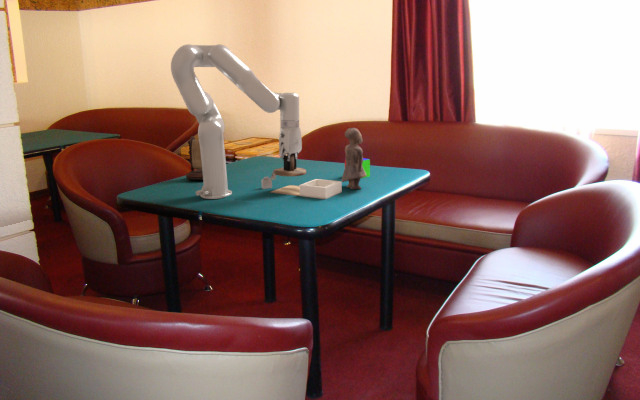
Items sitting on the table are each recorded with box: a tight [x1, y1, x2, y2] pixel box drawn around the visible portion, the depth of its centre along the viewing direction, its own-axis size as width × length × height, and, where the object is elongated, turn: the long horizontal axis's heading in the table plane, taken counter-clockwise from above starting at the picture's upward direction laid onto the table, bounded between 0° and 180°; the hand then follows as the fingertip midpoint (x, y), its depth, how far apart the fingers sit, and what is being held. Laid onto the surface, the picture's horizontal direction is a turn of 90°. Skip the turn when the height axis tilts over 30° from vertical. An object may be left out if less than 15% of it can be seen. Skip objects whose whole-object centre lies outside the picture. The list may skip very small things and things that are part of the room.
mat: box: [270, 184, 300, 197], centre depth 231 cm, size 14×14×1 cm
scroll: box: [185, 135, 203, 182], centre depth 260 cm, size 15×15×20 cm
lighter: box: [260, 169, 277, 190], centre depth 237 cm, size 7×2×8 cm, turn 116°
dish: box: [298, 178, 343, 200], centre depth 223 cm, size 12×12×5 cm
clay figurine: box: [341, 127, 367, 190], centre depth 230 cm, size 13×10×25 cm
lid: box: [273, 155, 307, 177], centre depth 229 cm, size 13×13×7 cm
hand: (290, 169), depth 229 cm, fingers closed on lid, 3 cm apart
